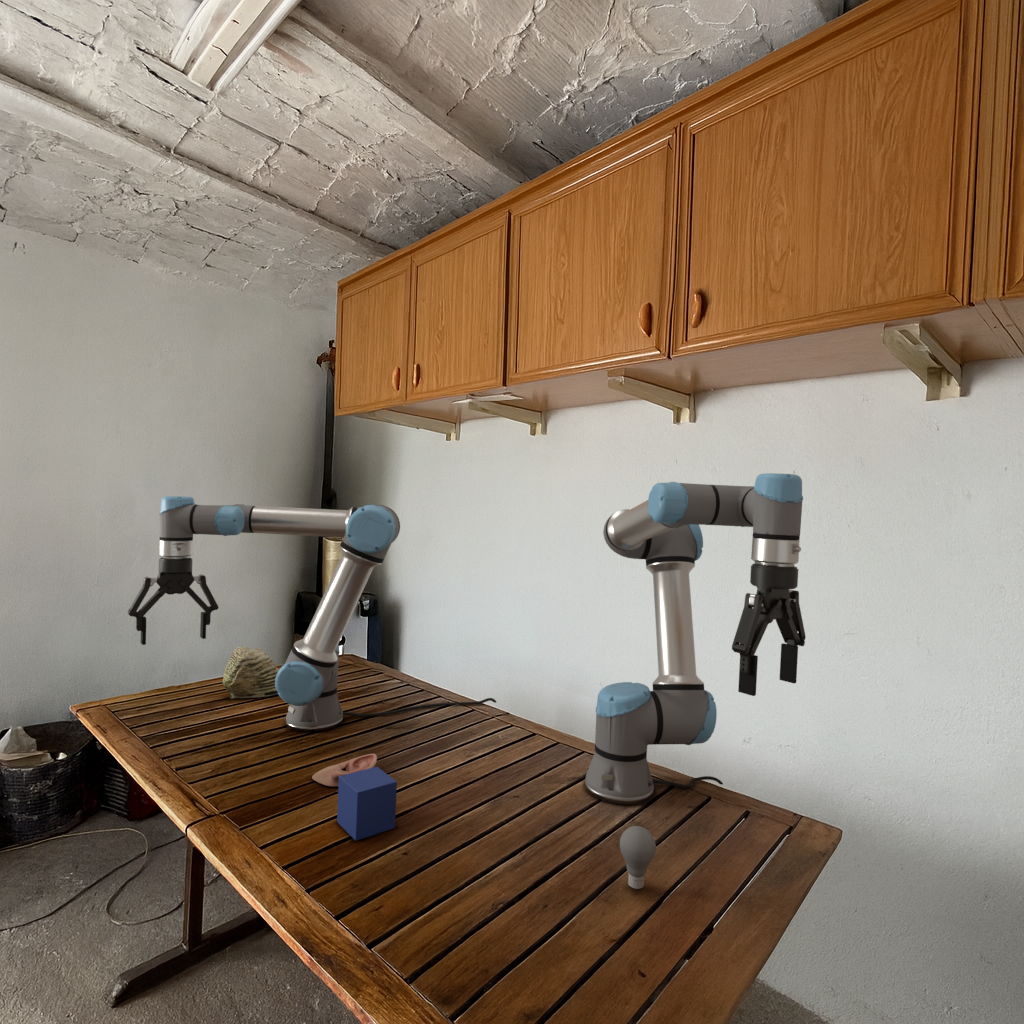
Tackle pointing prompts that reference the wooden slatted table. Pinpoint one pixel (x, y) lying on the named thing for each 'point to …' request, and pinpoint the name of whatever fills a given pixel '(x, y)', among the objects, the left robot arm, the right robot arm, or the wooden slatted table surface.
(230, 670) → the fossil
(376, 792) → the block
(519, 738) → the wooden slatted table surface
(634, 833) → the light bulb
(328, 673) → the left robot arm
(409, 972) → the wooden slatted table surface
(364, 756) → the anatomical model
